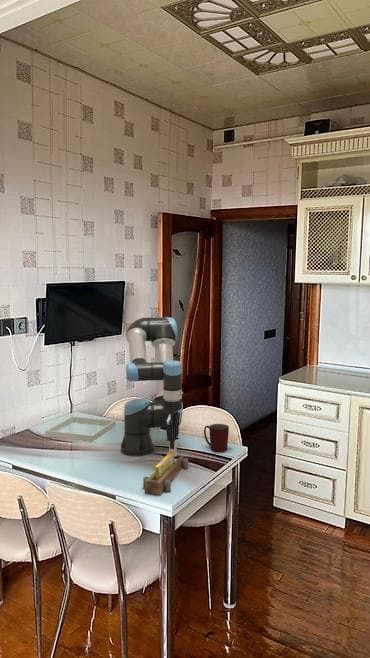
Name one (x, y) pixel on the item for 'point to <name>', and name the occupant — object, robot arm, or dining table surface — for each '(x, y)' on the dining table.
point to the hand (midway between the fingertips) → (172, 455)
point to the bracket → (164, 478)
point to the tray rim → (54, 433)
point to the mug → (217, 437)
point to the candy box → (164, 465)
